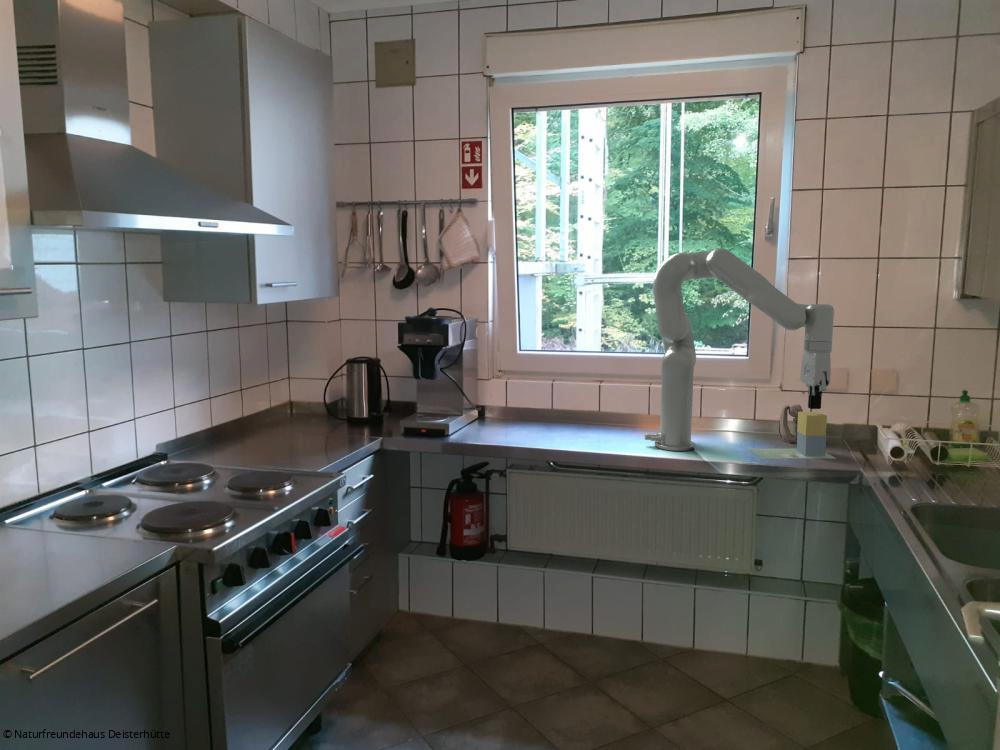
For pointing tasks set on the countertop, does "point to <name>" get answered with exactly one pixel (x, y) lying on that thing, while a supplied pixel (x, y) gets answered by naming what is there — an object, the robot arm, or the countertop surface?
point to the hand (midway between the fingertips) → (814, 408)
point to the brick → (812, 423)
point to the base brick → (811, 445)
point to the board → (785, 454)
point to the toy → (783, 422)
